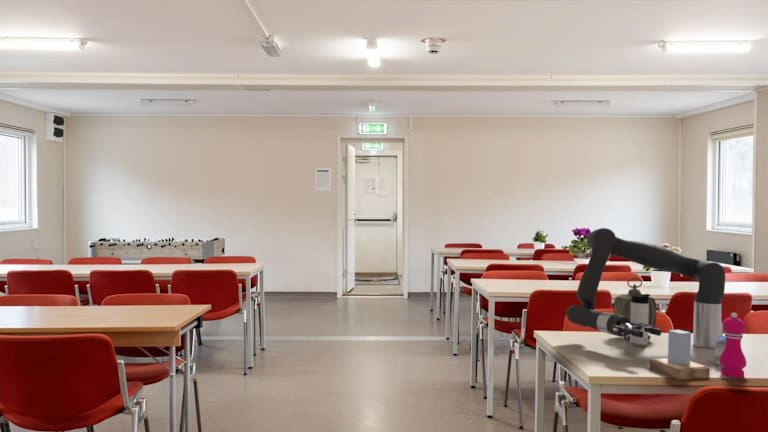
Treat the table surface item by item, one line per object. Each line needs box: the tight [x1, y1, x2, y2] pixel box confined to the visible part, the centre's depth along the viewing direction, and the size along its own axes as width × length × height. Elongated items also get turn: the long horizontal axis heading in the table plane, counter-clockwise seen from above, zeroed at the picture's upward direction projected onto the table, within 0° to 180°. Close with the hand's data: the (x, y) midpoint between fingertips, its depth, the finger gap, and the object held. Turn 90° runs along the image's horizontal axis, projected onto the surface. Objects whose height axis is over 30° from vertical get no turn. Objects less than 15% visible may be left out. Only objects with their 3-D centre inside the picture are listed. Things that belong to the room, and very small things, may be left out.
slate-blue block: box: [667, 329, 692, 365], centre depth 175 cm, size 4×4×10 cm
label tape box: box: [714, 335, 726, 367], centre depth 189 cm, size 9×4×12 cm, turn 141°
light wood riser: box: [649, 357, 711, 381], centre depth 176 cm, size 12×12×3 cm
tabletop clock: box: [612, 277, 657, 341], centre depth 225 cm, size 14×9×25 cm, turn 104°
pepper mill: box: [720, 312, 747, 379], centre depth 175 cm, size 7×7×20 cm
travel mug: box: [629, 293, 651, 348], centre depth 213 cm, size 6×7×20 cm
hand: (651, 333), depth 185 cm, fingers open, 8 cm apart
